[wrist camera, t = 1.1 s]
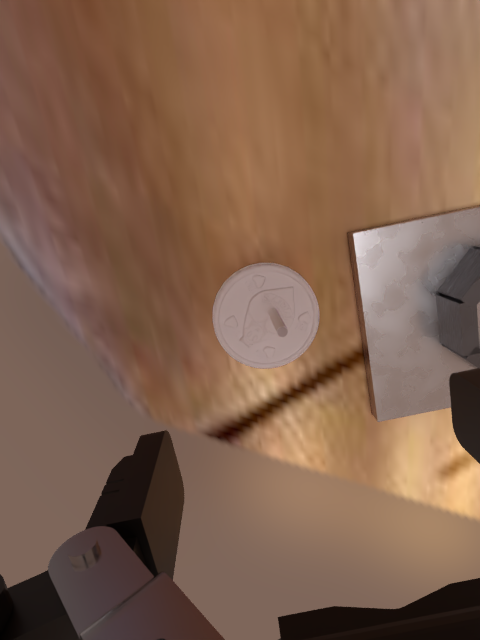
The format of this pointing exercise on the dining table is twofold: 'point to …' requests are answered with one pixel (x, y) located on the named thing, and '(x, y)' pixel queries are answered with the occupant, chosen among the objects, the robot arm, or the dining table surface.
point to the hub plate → (417, 308)
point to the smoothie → (265, 315)
